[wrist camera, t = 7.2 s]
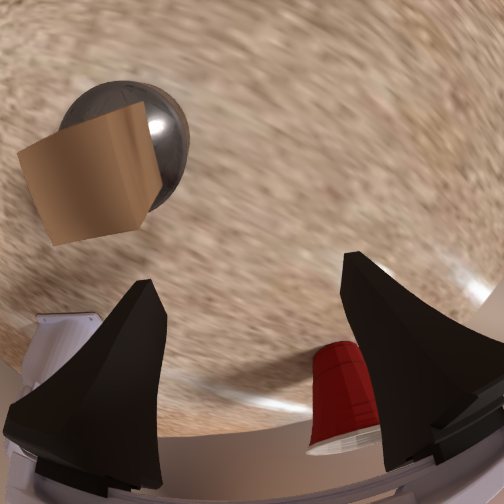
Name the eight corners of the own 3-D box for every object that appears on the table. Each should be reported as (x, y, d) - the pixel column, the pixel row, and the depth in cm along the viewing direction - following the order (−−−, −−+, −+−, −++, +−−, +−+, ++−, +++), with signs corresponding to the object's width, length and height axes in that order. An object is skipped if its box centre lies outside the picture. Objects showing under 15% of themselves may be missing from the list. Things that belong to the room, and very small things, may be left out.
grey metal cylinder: (97, 207, 19) (81, 227, 16) (67, 102, 14) (43, 109, 11) (203, 186, 19) (199, 205, 16) (182, 64, 14) (172, 62, 11)
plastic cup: (273, 372, 32) (285, 464, 23) (326, 318, 27) (358, 429, 17) (339, 381, 36) (359, 456, 26) (392, 335, 30) (427, 419, 20)
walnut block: (91, 201, 15) (53, 246, 11) (68, 126, 12) (16, 153, 8) (162, 184, 15) (138, 229, 11) (143, 101, 12) (105, 114, 8)
